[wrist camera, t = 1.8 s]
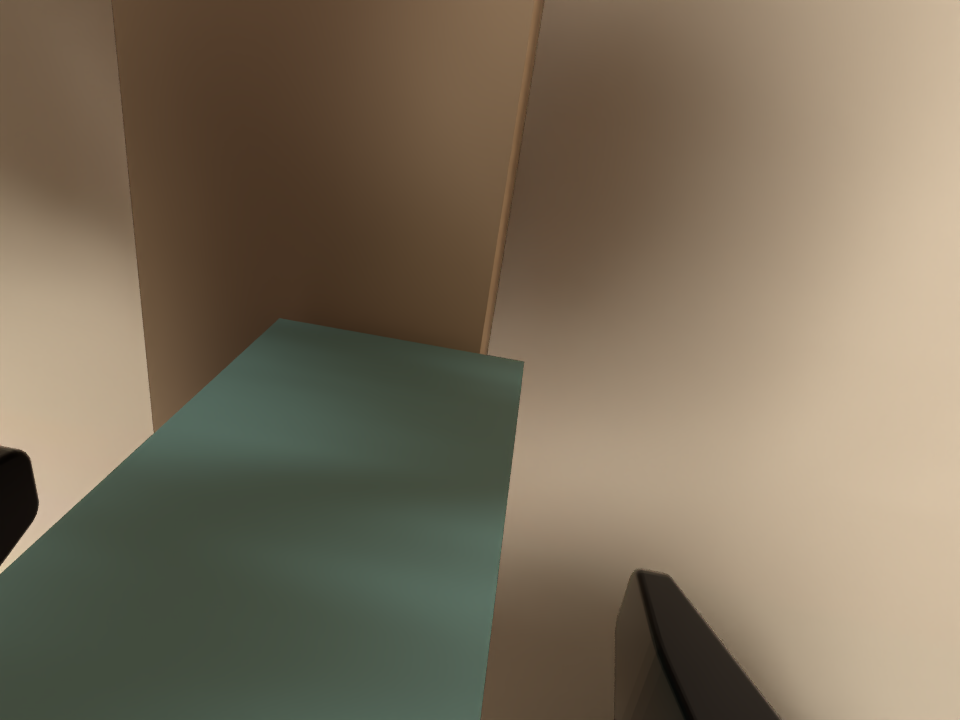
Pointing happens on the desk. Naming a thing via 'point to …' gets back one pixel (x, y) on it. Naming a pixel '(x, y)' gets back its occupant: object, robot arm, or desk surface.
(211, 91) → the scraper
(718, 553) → the desk surface
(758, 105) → the desk surface
